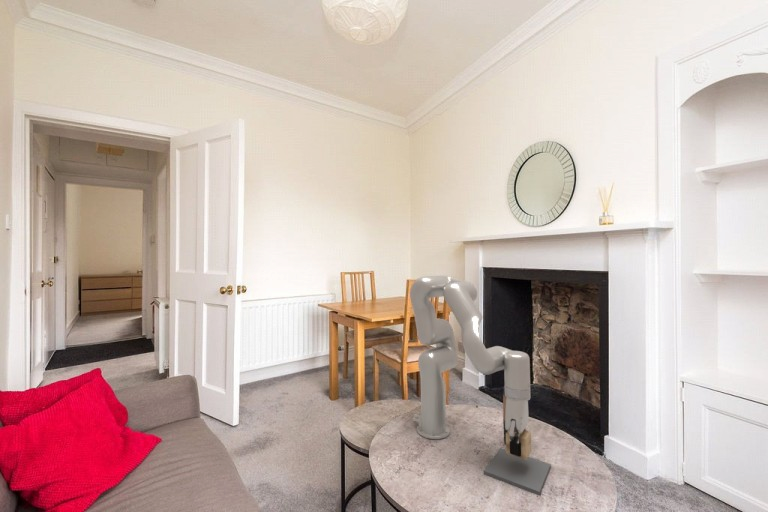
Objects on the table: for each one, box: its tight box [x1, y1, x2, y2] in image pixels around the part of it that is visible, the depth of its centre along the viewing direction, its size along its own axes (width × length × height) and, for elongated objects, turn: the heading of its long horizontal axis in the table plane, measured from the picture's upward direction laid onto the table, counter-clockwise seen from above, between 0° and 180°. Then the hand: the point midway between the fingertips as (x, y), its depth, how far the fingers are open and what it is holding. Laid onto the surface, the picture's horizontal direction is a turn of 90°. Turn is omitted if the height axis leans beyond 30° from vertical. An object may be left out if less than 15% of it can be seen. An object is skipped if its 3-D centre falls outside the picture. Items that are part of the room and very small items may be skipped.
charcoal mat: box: [483, 447, 552, 496], centre depth 105 cm, size 16×16×1 cm
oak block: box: [505, 429, 532, 460], centre depth 105 cm, size 6×6×6 cm
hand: (518, 449), depth 105 cm, fingers closed on oak block, 6 cm apart
